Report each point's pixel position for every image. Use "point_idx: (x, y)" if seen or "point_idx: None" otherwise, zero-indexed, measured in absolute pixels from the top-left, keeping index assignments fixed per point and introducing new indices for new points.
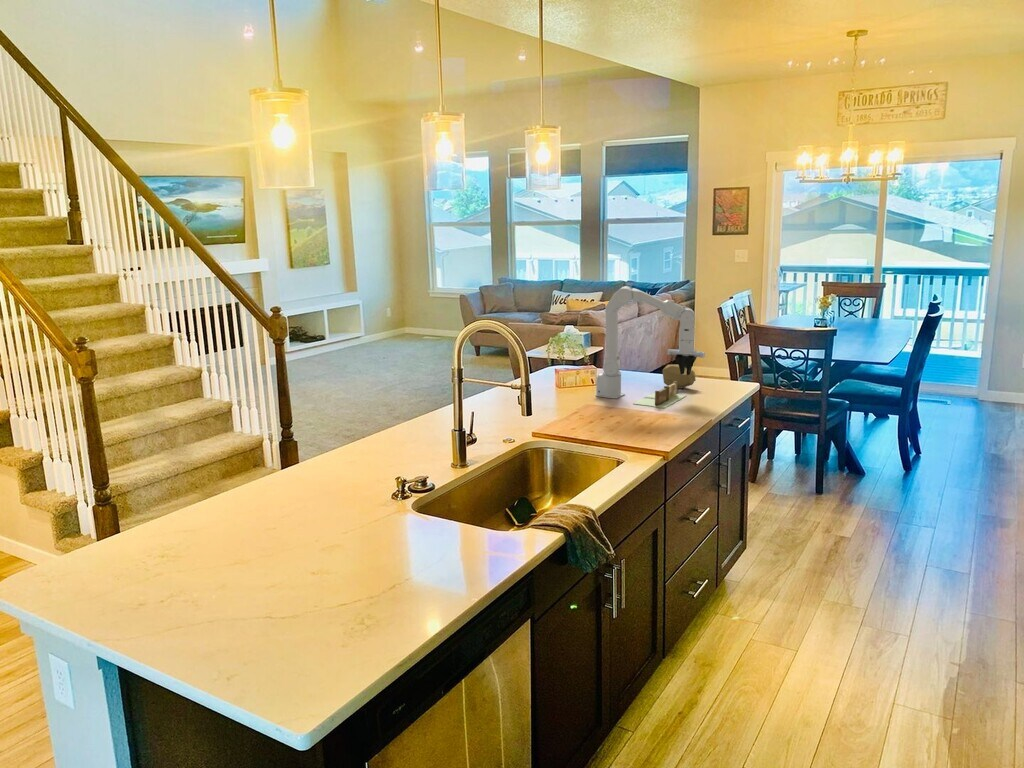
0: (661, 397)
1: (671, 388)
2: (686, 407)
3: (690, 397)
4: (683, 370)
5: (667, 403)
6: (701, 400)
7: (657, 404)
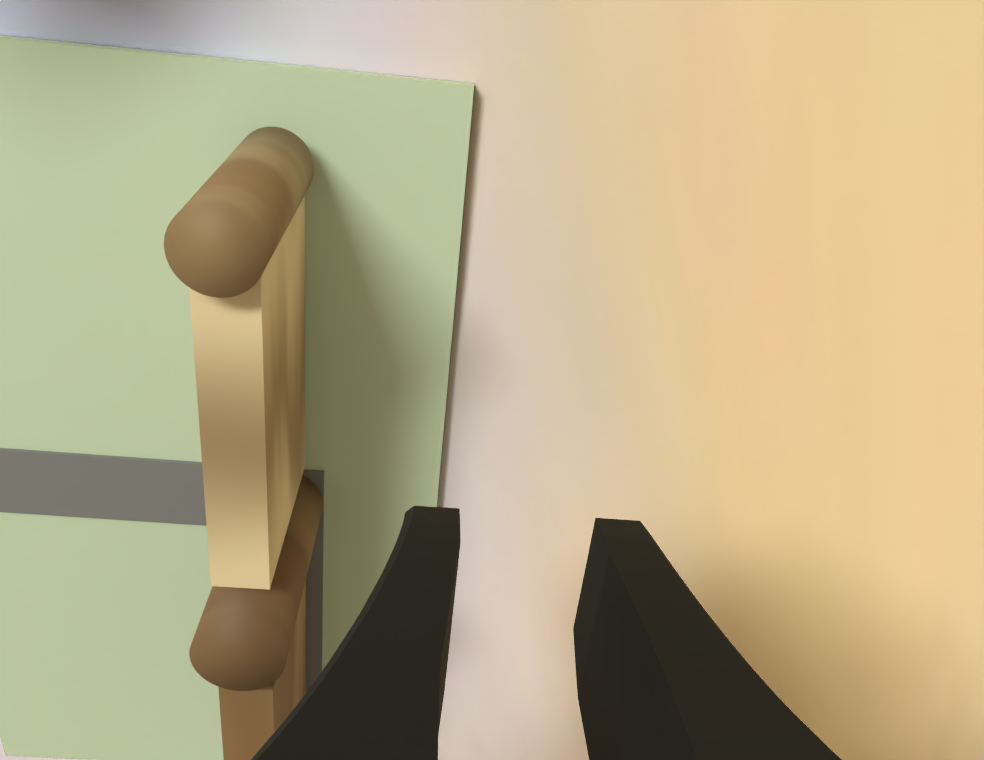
0: None
1: (277, 479)
2: None
3: (566, 148)
4: (450, 621)
5: None
6: (777, 279)
7: None
